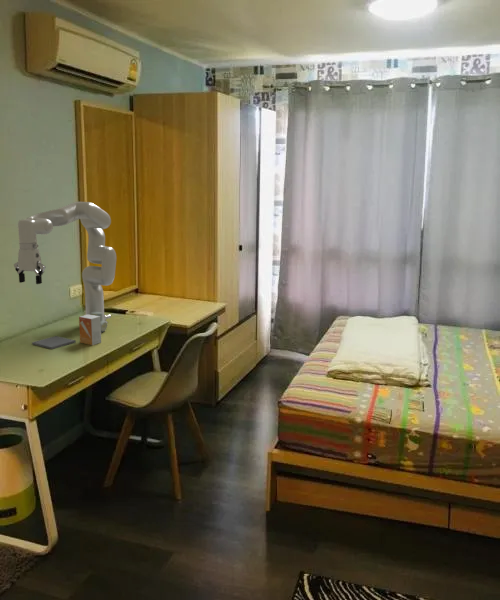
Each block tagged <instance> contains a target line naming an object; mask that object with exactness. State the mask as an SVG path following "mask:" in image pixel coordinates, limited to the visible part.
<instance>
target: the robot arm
mask: <svg viewBox="0 0 500 600" xmlns="http://www.w3.org/2000/svg"><path fill="white" fill-rule="evenodd" d="M78 220H80V223H81V224H82V226H83V227H84V229H85V230H86V232H87V234H88V243H87V244H88V245H87V254H86V257H87V261H88V262H89V263H91V264H94V265H87V266H86V267H84V269H83V270H82V273H81V278H82V282H83V285H84V298H85V300H84V301H85V315H88V314H89V315H90V313H92V312H102V320H103V321H105V322H106V323H107V324H108V321H107V320H108V319H111V317H112V315H111V314H105V301H104V298H105V297H104V289H103V286H106V287H107V286H110V285H112V284H113V283H114V280H115V276H116V268H117V267H116V266H117V253H116V250H115V249H114V248H113V247H111V246H107V245H106V235H105V232H104V230H105V229H108V228H109V227H110V225H111V224H112V219H111V215H110V214H109V213H108V212H107V211H105V210H104V209H102V208H101V207H100V206H98V205H96V204H94V203H93V202H90V201H75V202H71V203H69V204H66V205H64V206H61V207H59V208H56V209H52V210H47V211H44V212H40V213H36V214H32V215H31V216H28V217H26V218H25V219H23V218H22V219H19V220H18V221H17V226H18V227H17V228H18V245H19V249H18V253H17V255H18V256H17V261H16V262H15V263H14V264H13V267H14V269H15V271H16V272H17V275H18V283H20V284H21V283H25V282H26V275H25V274H26V273H25V272H34V273H35V284H36V285H40V284H42V283H43V278H42V276H43V274H44V273H45V270H46V265H45V264H43V263H42V259H41V258H42V257H41V253H40V250H39V249H38V248H39V245H38V243H37V235H47V234H50V233H51V232H52V231H53V229H54V227H62V226H66V225H68V224H71V223H73V222H76V221H78ZM95 264H96V265H97V266H95ZM99 265H101V266H99Z"/></svg>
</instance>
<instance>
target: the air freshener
mask: <svg viewBox="0 0 500 600" xmlns="http://www.w3.org/2000/svg"><path fill="white" fill-rule="evenodd" d="M90 315H95V316H100V321H101V334H103V332H105V331H106V330H107V328H108V322H107V323H106V322H105V321H103V320H102V312H92V313H90Z"/></svg>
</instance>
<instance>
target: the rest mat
mask: <svg viewBox="0 0 500 600" xmlns="http://www.w3.org/2000/svg"><path fill="white" fill-rule="evenodd" d="M76 342H77V341H76V340H75V339H71V338H67V337H62V336H58V335H54V336H51V337H47V338H43V339H40V340H35V341H32V342H31V345H33V346H37V347H40V348H41V347H42V348H45V349H48V350H53V349H58V348H62V347H64V346H69V345H72V344H76Z"/></svg>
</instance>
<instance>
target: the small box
mask: <svg viewBox="0 0 500 600" xmlns="http://www.w3.org/2000/svg"><path fill="white" fill-rule="evenodd" d="M78 323H79V324H78V325H79V343H80V344H85V345H89V346H95V345H97V344H100V343H102V333H101V321H100V316H95V315H89V314H88V315H86V314H84V315H80V316H79V317H78Z"/></svg>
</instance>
